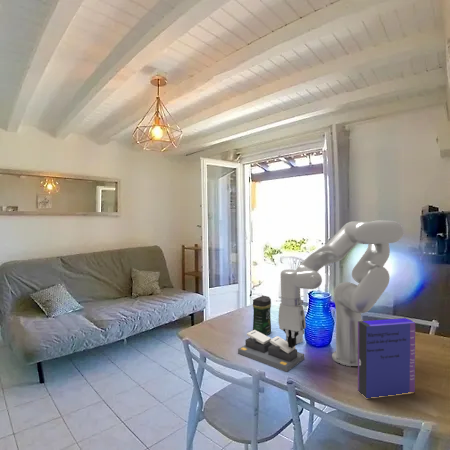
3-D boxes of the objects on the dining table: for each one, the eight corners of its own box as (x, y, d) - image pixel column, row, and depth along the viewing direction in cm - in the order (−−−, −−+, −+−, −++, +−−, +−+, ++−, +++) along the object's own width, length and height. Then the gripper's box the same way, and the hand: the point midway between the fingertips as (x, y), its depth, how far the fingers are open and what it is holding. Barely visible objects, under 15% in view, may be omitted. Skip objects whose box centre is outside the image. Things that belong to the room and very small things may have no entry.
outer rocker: (270, 340, 133) (271, 338, 133) (263, 344, 129) (263, 342, 129) (254, 331, 139) (254, 329, 139) (246, 335, 135) (246, 333, 135)
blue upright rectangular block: (404, 385, 107) (404, 317, 106) (414, 393, 102) (415, 322, 101) (357, 391, 104) (357, 320, 103) (366, 399, 99) (366, 325, 98)
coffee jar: (264, 338, 149) (264, 300, 148) (250, 334, 154) (250, 297, 153) (273, 332, 157) (273, 295, 156) (260, 328, 161) (259, 293, 161)
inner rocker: (295, 348, 125) (295, 346, 125) (288, 353, 121) (288, 351, 121) (276, 337, 131) (277, 335, 131) (269, 342, 127) (270, 339, 127)
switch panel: (304, 358, 127) (304, 342, 127) (286, 371, 117) (286, 354, 117) (257, 343, 144) (257, 328, 143) (238, 353, 133) (237, 337, 133)
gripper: (312, 301, 121) (313, 348, 121) (279, 296, 131) (280, 338, 131) (303, 306, 115) (304, 355, 116) (269, 300, 125) (271, 344, 126)
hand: (292, 346), depth 124 cm, fingers closed
